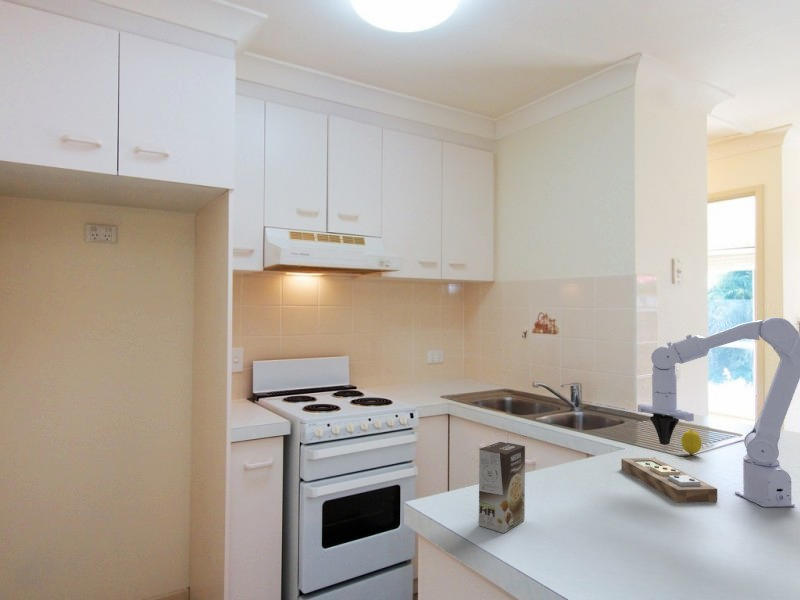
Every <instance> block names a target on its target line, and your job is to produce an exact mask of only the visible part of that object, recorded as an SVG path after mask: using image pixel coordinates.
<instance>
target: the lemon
mask: <svg viewBox="0 0 800 600" xmlns="http://www.w3.org/2000/svg"><path fill="white" fill-rule="evenodd" d="M681 446H682V449H683V450H684V451H685V452H687V453H688V454H689V455H690V454H692V455H691V456H693V455H695V454H697V453H698V452H699V451H701V448H702V438H701V436H700V434H699V433H698V432H696V431H694V429H689V430H687V431H684V432H683V434H682V436H681Z"/></svg>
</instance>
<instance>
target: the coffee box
mask: <svg viewBox="0 0 800 600" xmlns="http://www.w3.org/2000/svg"><path fill="white" fill-rule="evenodd" d="M478 457H479V458H478V459H479V463H478V464H479V466H478V467H479V468H478V469H479V470H478V477H479V478H478V526H480V527H483V528H486V529H489V530H491V531H492V530H493V531H495V532H499V533H501V534H506V533H507V532H509V531H511V529H513V528H514V527H517V526H518V525H519V523H520V522H521V523H522V521H523V522H524V521H525V519H526V518H525V512H526V511H525V510H526V509H525V508H526V507H525V506H526V505H525V500H526V497H525V495H526V494H525V493H526V492H525V491H526V488H525V487H526V483H525V482H526V445H523V444H517V443H512V442H504V441H498V442H496V443H493V444H489V445H487V446H483V447H481V448H479V456H478ZM521 523H520V524H521Z"/></svg>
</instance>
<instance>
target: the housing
mask: <svg viewBox="0 0 800 600" xmlns="http://www.w3.org/2000/svg"><path fill="white" fill-rule="evenodd" d="M620 460H621V461H620V462H621V465H620V466H621V470H622V471H624V472H625V473H627V474H629V475H631V476H632V477H634V478H635V479H637V480H639V481H640V482H643V483H644V484H645V485H647V486H649V487H650V488H652V489H654V490H656V491H657V492H659V493H661V494H663V495H665V496H666V497H667V498H669V499H671V500H672V501H674V502H676V503H704V502H705V503H706V502H707V503H708V502H709V503H710V502H715V503H716V502H718V488H717V487H714V486H713V485H711V484H708V483H707V482H704V481H702V480H700V479H698V478H696V477H694V476H692V475H690V474H688V473H686V472H684V471H682V470H680V469H678V468H676V467H674V466H671V465H670V464H668V463H666V462H664V461H661V460H660V459H658V458H656V457H643V458H640V457H638V458H637V457H636V458H634V457H633V458H631V457H630V458H628V457H627V458H621V459H620ZM648 461H651V462H653V463H655V464H657V465H659V466H670V467H672V468H674V469H676V470H678V471H680V475H688V476H690V477H692V478H694V479H696V480H698V481H700V486H679V485H677V484H675V483H673V482H671V481H670V480H669V479H668V476H660V475H659V474H657V473H655V472H653V471H651V470H650V466H647V467H644V466H642V465H640V464H638V463H636V462H648Z"/></svg>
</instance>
